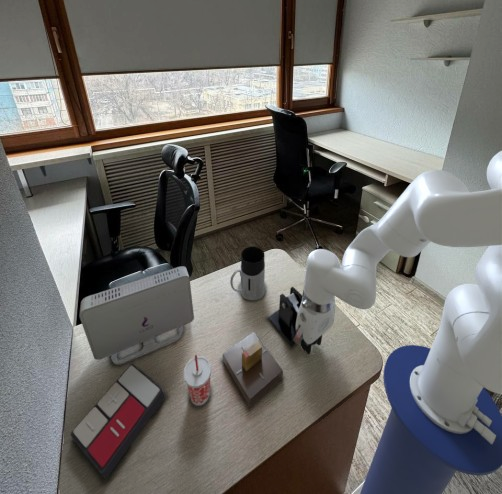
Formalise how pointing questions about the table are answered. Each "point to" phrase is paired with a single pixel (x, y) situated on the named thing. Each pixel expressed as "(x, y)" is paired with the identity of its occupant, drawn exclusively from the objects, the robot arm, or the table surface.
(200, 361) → the beverage cup
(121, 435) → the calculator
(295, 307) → the door lever
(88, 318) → the network device
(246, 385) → the lock plate
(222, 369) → the table surface
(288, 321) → the handle bracket
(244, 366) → the thumb turn
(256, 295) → the glass holder
